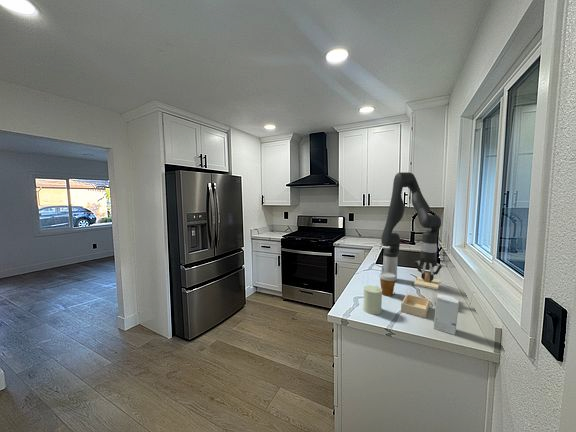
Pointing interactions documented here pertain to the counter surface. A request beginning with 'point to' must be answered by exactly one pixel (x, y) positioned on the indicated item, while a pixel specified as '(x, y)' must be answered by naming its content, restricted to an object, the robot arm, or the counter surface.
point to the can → (372, 299)
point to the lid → (427, 281)
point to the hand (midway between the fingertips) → (427, 279)
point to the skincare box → (446, 313)
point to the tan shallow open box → (415, 305)
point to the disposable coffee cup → (387, 283)
